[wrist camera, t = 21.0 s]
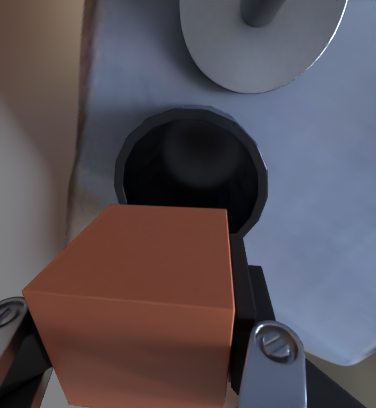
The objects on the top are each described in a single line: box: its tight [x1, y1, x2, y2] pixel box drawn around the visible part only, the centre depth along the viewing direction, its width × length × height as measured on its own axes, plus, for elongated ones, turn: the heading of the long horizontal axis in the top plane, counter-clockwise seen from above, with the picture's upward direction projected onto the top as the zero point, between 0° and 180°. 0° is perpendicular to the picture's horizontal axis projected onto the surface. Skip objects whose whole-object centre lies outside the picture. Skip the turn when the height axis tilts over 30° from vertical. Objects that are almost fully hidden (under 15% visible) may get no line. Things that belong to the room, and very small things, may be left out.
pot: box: [114, 105, 268, 237], centre depth 21 cm, size 11×12×8 cm
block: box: [22, 204, 235, 408], centre depth 8 cm, size 5×5×5 cm
